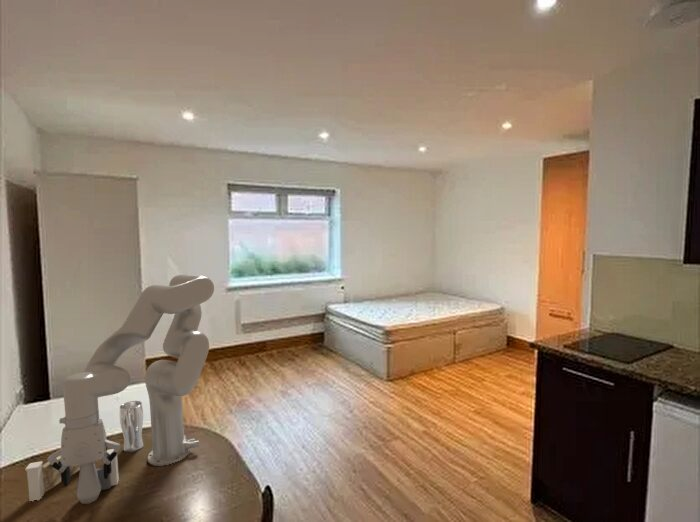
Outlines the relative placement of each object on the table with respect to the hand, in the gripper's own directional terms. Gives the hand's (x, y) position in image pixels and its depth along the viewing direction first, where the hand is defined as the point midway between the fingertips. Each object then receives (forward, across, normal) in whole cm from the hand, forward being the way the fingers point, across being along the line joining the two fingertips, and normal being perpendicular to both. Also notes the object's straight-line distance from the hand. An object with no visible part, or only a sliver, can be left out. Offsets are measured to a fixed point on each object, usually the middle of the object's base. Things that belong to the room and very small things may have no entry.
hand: (87, 479), depth 112 cm
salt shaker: (+6, 0, 0) cm, 6 cm away
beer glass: (+6, +7, +26) cm, 28 cm away
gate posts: (+6, -5, +5) cm, 9 cm away
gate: (+5, -8, +14) cm, 17 cm away
